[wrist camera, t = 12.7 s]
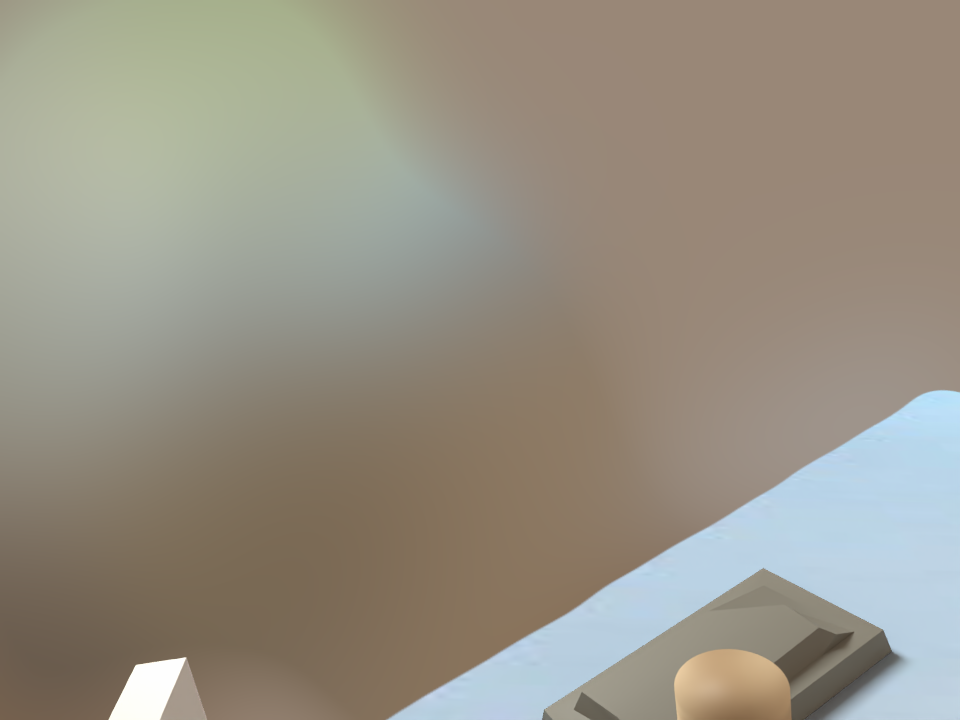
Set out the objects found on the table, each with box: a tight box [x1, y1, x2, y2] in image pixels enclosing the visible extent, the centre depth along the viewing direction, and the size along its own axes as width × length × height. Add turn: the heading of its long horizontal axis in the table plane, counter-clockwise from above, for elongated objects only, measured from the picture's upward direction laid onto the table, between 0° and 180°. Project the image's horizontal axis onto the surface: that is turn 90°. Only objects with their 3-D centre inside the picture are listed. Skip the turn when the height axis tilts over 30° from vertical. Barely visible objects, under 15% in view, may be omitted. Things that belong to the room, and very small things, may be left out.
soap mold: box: [542, 568, 892, 720], centre depth 53 cm, size 10×20×4 cm, turn 123°
